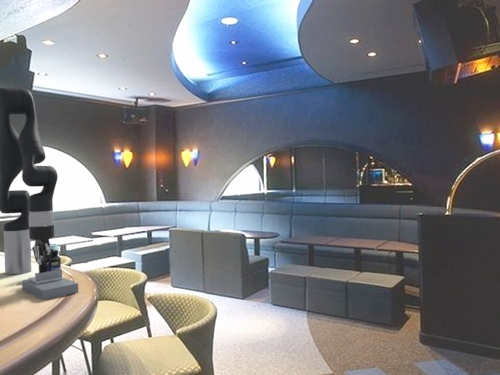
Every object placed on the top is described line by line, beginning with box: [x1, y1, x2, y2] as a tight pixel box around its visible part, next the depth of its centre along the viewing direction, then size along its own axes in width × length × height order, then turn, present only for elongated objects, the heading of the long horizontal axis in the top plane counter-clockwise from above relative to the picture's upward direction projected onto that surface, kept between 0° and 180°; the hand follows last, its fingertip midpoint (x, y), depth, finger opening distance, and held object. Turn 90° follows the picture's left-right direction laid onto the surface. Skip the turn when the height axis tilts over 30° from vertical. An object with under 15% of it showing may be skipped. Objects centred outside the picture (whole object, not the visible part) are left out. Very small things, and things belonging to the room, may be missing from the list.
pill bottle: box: [47, 250, 62, 271], centre depth 143 cm, size 6×6×11 cm
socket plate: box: [21, 276, 79, 301], centre depth 129 cm, size 19×11×3 cm, turn 46°
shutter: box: [27, 268, 63, 284], centre depth 132 cm, size 8×8×3 cm
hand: (43, 275), depth 133 cm, fingers closed
